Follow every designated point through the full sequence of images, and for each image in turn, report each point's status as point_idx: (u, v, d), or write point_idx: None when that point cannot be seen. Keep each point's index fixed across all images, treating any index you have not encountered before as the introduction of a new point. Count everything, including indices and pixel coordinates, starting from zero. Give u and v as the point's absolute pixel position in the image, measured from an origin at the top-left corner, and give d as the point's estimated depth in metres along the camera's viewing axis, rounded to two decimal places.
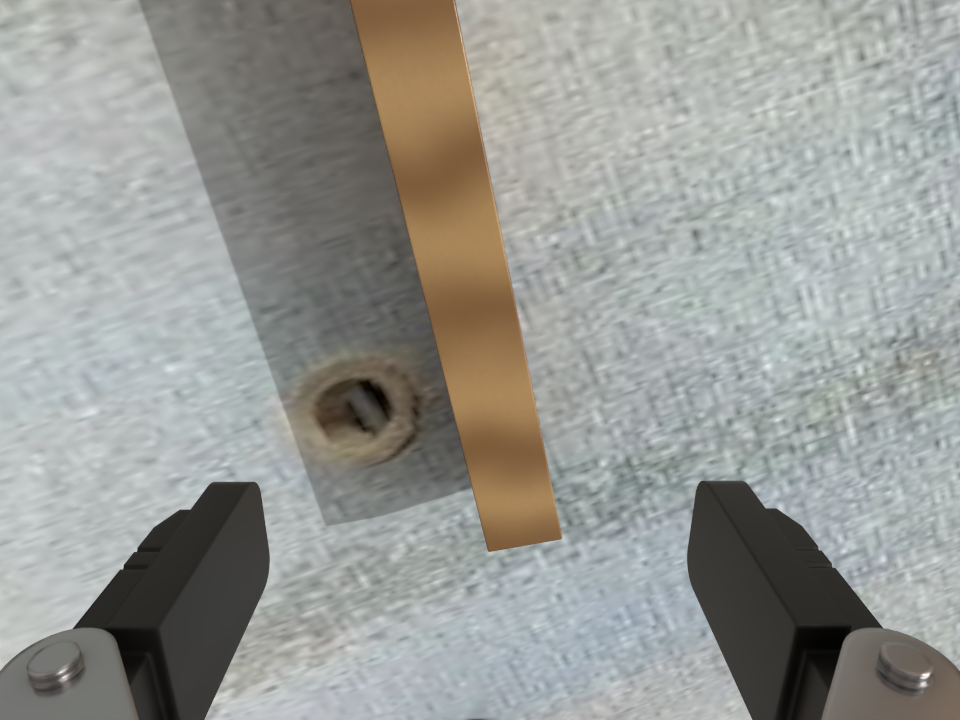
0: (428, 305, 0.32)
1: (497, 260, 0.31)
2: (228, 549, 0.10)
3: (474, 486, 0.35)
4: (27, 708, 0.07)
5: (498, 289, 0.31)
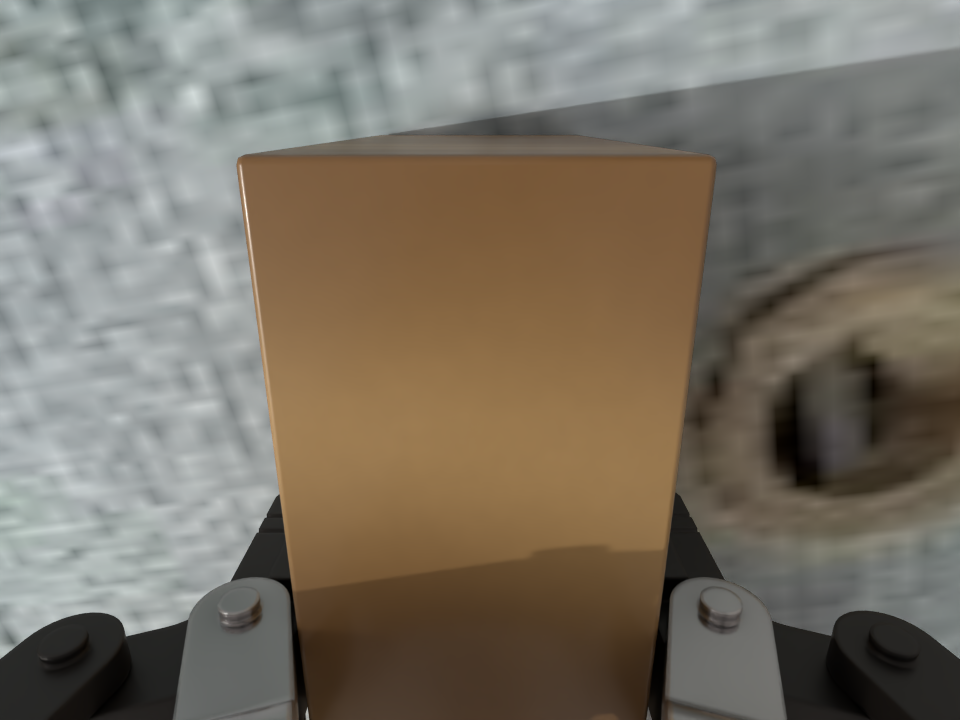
0: None
1: None
2: None
3: (655, 568, 0.07)
4: (226, 642, 0.07)
5: None
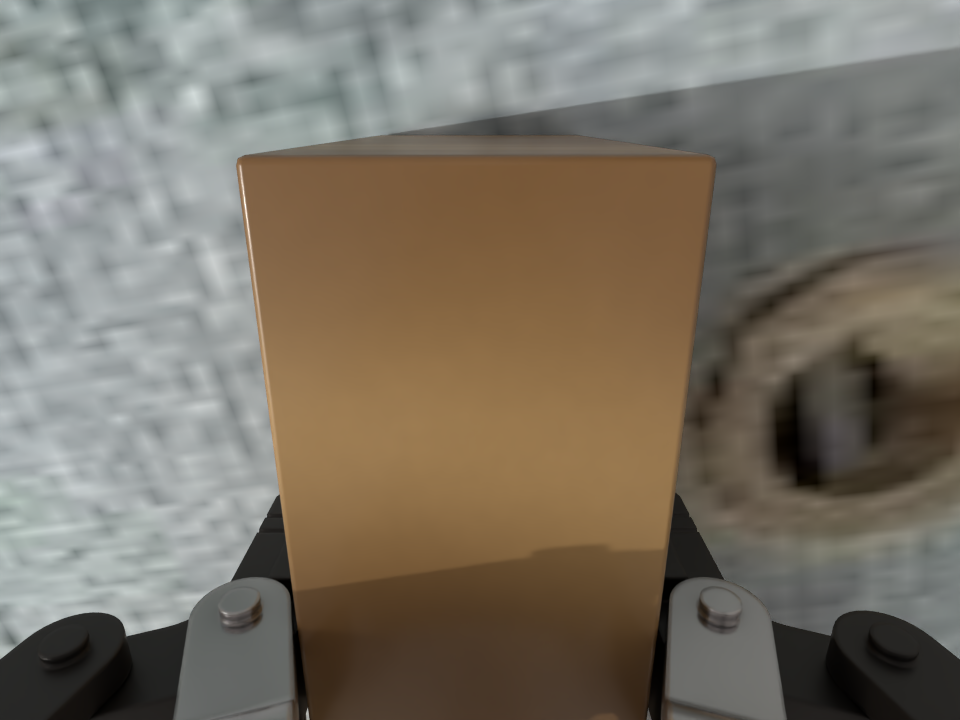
0: None
1: None
2: None
3: (655, 569, 0.07)
4: (226, 641, 0.07)
5: None
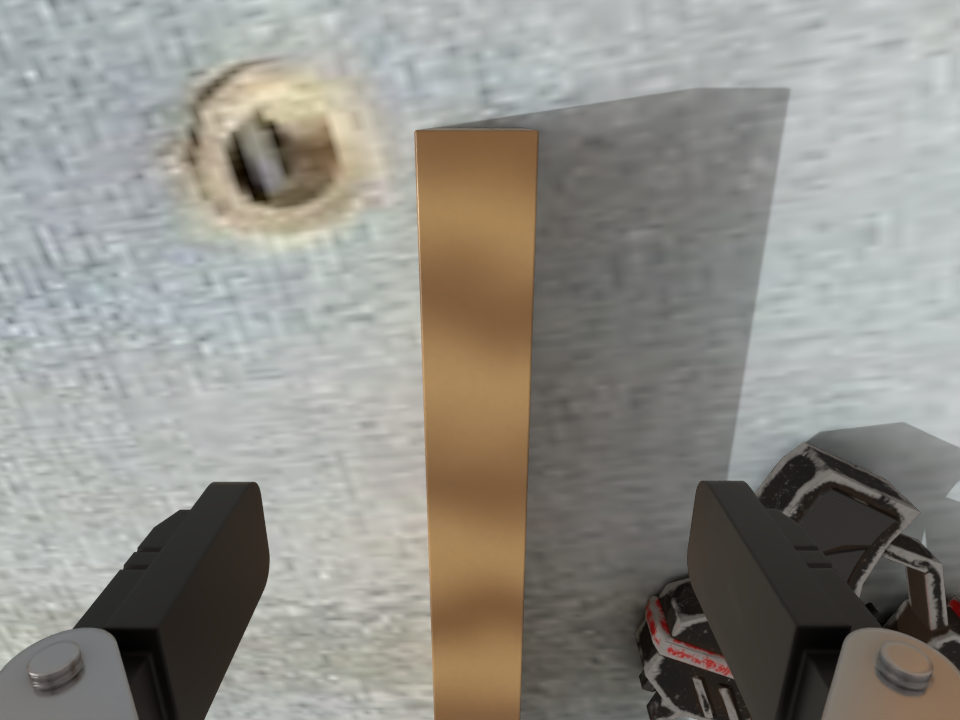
0: (524, 501, 0.28)
1: (437, 530, 0.28)
2: (228, 549, 0.10)
3: (531, 258, 0.24)
4: (27, 708, 0.07)
5: (442, 502, 0.28)
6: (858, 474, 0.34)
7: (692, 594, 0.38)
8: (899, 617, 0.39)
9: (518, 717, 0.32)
